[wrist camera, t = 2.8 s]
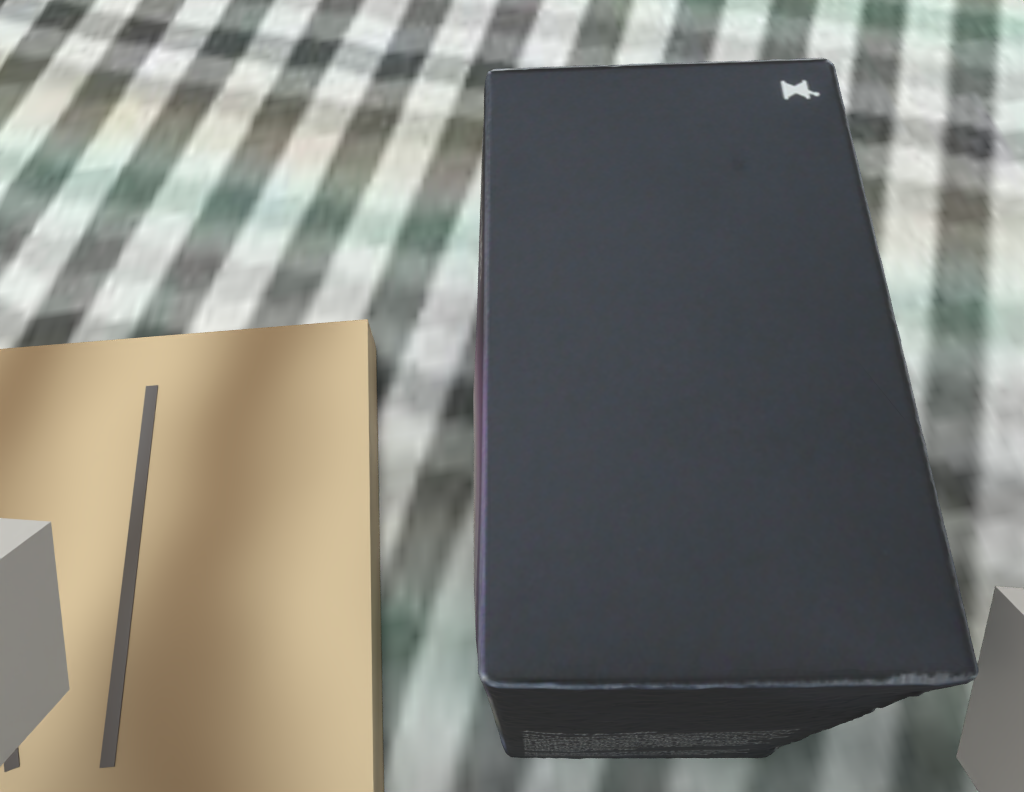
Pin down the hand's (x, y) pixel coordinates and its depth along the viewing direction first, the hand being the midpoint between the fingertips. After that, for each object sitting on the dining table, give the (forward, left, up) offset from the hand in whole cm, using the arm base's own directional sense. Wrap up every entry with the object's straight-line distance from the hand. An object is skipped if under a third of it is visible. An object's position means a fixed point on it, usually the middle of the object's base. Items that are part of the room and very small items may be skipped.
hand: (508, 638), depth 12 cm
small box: (-3, -4, -9) cm, 10 cm away
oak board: (+13, -4, -9) cm, 16 cm away
